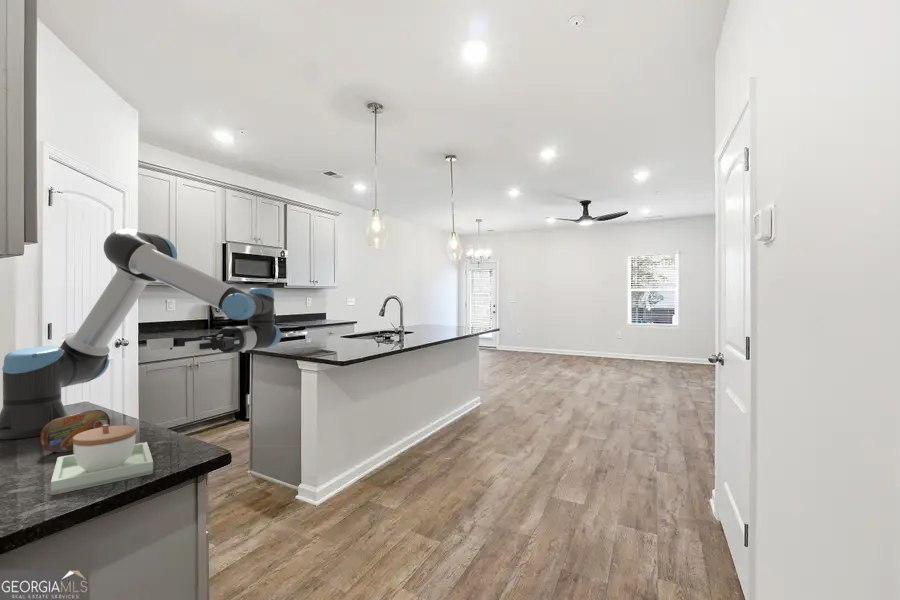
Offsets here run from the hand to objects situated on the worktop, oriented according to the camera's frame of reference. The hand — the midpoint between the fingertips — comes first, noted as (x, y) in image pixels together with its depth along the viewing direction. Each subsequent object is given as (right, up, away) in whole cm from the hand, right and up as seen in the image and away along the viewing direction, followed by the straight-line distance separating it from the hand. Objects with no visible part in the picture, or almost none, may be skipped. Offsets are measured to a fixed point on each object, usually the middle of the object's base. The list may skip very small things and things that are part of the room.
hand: (166, 346), depth 104 cm
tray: (-4, -26, -14) cm, 30 cm away
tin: (-24, -26, +2) cm, 36 cm away
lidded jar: (-4, -25, -14) cm, 29 cm away
